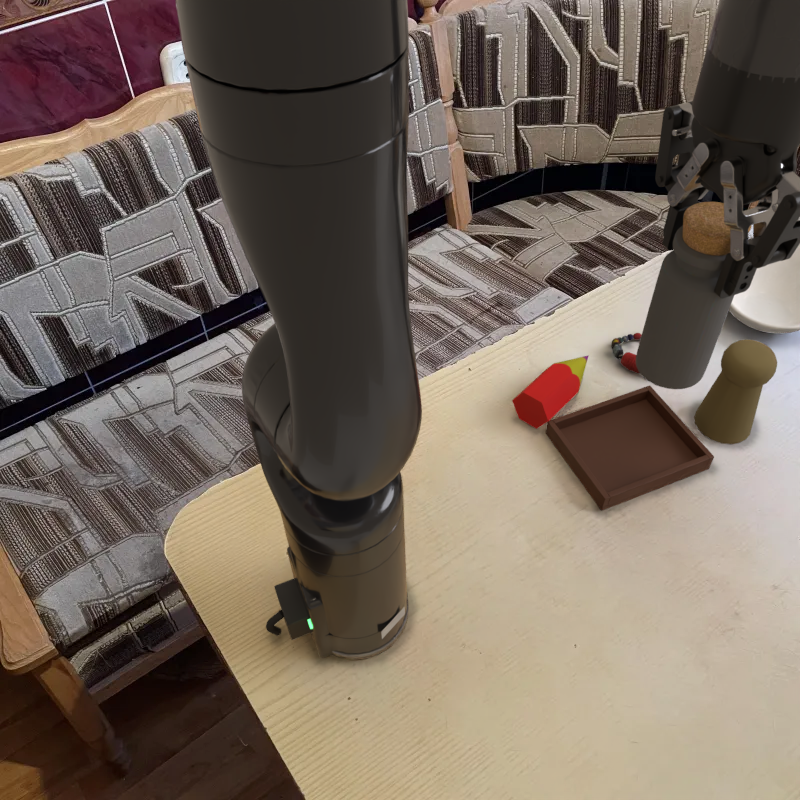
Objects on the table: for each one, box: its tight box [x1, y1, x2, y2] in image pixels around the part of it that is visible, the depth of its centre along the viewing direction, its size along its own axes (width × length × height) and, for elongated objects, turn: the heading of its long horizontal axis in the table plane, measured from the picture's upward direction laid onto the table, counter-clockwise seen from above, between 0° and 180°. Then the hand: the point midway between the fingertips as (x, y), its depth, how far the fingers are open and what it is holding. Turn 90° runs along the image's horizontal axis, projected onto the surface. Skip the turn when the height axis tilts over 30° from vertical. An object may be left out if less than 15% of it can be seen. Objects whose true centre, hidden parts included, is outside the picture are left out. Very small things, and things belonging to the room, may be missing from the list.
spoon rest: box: [728, 244, 800, 334], centre depth 96 cm, size 24×12×7 cm, turn 155°
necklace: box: [610, 332, 642, 375], centre depth 91 cm, size 8×11×2 cm
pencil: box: [511, 355, 589, 430], centre depth 85 cm, size 5×12×4 cm, turn 138°
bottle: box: [635, 201, 753, 390], centre depth 60 cm, size 6×6×15 cm
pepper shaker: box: [693, 339, 778, 445], centre depth 80 cm, size 6×6×11 cm
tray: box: [544, 385, 715, 512], centre depth 80 cm, size 13×11×2 cm
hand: (701, 268), depth 58 cm, fingers closed on bottle, 5 cm apart
